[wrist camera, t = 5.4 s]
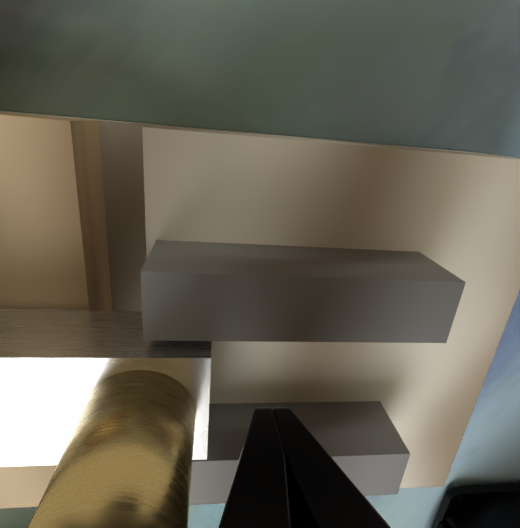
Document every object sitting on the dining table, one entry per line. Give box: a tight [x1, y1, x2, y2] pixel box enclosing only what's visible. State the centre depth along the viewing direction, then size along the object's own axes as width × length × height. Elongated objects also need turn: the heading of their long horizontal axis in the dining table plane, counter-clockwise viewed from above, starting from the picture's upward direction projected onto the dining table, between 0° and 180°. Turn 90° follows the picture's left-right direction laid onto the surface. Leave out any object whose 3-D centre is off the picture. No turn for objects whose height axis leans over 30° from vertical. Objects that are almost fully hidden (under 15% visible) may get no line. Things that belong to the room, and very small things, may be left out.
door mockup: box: [0, 111, 520, 509], centre depth 11 cm, size 23×12×6 cm, turn 85°
